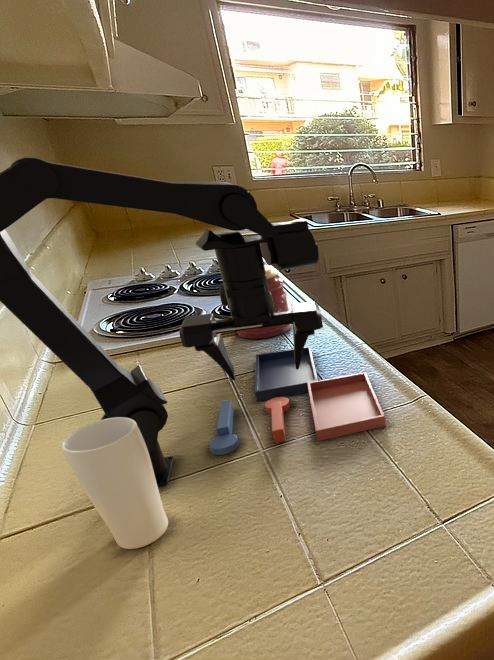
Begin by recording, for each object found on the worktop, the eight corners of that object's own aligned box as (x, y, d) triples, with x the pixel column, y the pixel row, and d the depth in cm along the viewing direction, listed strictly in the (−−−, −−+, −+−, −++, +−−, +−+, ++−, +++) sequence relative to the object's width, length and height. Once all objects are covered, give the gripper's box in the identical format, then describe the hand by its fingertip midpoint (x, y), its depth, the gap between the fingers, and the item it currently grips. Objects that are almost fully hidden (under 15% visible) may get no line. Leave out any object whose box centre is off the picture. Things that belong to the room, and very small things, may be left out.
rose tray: (385, 426, 78) (384, 416, 77) (317, 441, 74) (315, 430, 73) (366, 380, 92) (365, 371, 91) (308, 391, 88) (307, 382, 87)
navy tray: (319, 389, 88) (318, 380, 88) (257, 401, 85) (254, 392, 84) (311, 354, 102) (310, 346, 102) (257, 362, 99) (255, 354, 98)
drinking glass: (127, 566, 53) (75, 460, 46) (100, 540, 56) (48, 439, 49) (187, 527, 58) (149, 427, 51) (159, 506, 61) (119, 410, 54)
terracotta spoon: (293, 439, 74) (290, 427, 73) (266, 445, 73) (263, 432, 72) (289, 400, 85) (287, 389, 84) (266, 405, 83) (263, 393, 82)
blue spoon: (216, 414, 81) (213, 402, 80) (241, 409, 82) (238, 398, 81) (209, 457, 70) (205, 445, 69) (238, 451, 71) (235, 438, 70)
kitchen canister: (256, 344, 107) (239, 269, 99) (225, 332, 114) (206, 261, 106) (303, 326, 117) (290, 257, 109) (271, 316, 123) (257, 250, 115)
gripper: (308, 257, 76) (322, 344, 83) (177, 269, 69) (204, 362, 76) (315, 275, 66) (330, 371, 73) (164, 290, 60) (196, 394, 67)
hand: (266, 373), depth 73 cm, fingers open, 9 cm apart
